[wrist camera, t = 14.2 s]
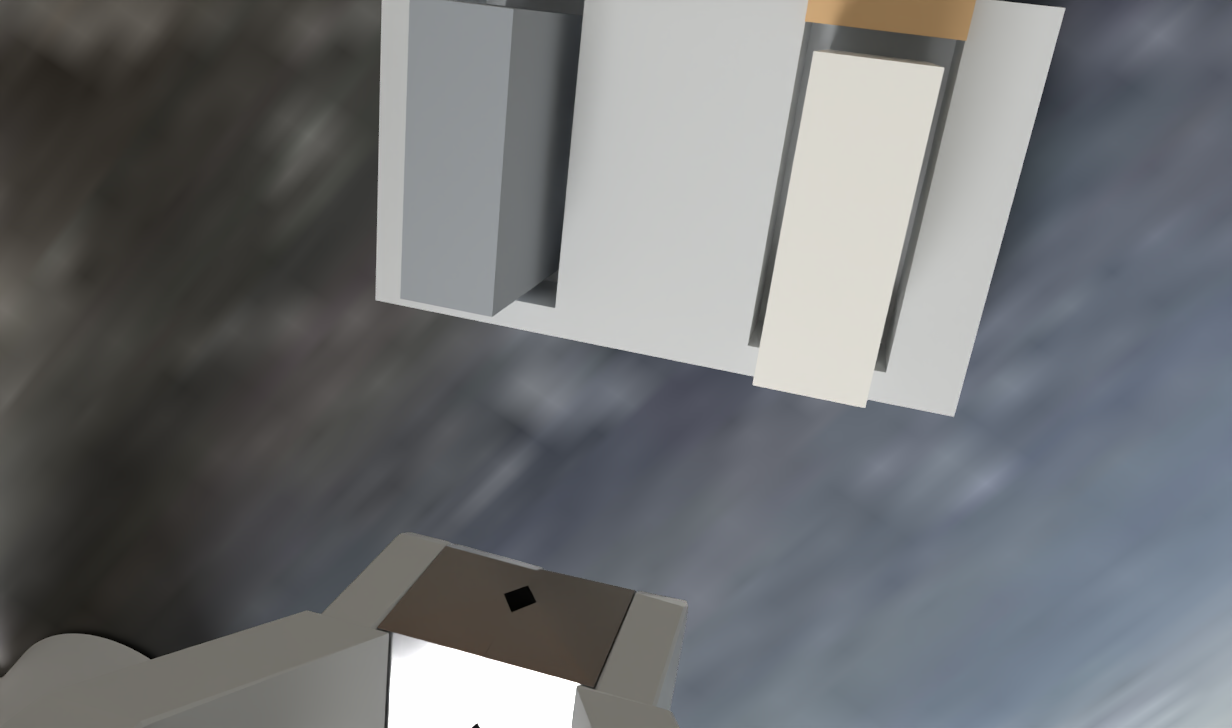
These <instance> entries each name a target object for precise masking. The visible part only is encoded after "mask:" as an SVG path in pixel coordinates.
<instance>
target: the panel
mask: <svg viewBox="0 0 1232 728" xmlns="http://www.w3.org/2000/svg"><path fill="white" fill-rule="evenodd" d="M944 68H945V67H942V66H939V65H936V64H933V63H930V62H927V61H919V60H911V59H903V58H895V57H887V56H879V55H871V54H863V53H855V52H847V51H839V50H831V49H827V50H818V51H814V52H813V57H812V63H811V68H810V74H809V79H808V85H807V90H806V96H805V101H804V107H803V112H802V117H801V123H800V128H799V134H798V139H797V145H796V150H795V156H794V161H793V167H792V172H791V178H790V183H789V188H788V194H787V199H786V205H785V210H784V216H783V221H782V227H781V232H780V238H779V243H778V249H777V254H776V259H775V265H774V270H773V276H772V281H771V287H770V292H769V298H768V303H767V309H766V314H765V320H764V325H763V331H762V336H761V341H760V347H759V352H758V358H757V363H756V369H755V374H754V380H753V385H755V386H759V387H764V388H769V389H774V390H779V391H784V392H789V393H794V394H799V395H804V396H809V397H813V398H818V399H823V400H828V401H833V402H838V403H843V404H848V405H853V406H858V407H863V408H865V407H866V402H867V398H868V394H869V390H870V385H871V381H872V377H873V372H874V368H875V364H876V360H877V355H878V351H879V347H880V342H881V338H882V334H883V330H884V325H885V321H886V317H887V312H888V308H889V304H890V300H891V295H892V291H893V287H894V282H895V278H896V274H897V270H898V265H899V261H900V257H901V253H902V248H903V244H904V240H905V235H906V231H907V227H908V223H909V218H910V214H911V210H912V205H913V201H914V197H915V193H916V188H917V184H918V180H919V175H920V171H921V167H922V163H923V158H924V154H925V150H926V146H927V141H928V137H929V133H930V128H931V124H932V120H933V116H934V111H935V107H936V103H937V98H938V94H939V90H940V86H941V81H942V77H943V73H944Z"/></svg>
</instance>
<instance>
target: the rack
mask: <svg viewBox="0 0 1232 728" xmlns="http://www.w3.org/2000/svg"><path fill="white" fill-rule="evenodd" d="M1064 12H1065V8H1061V7H1051V6H1042V5H1033V4H1024V3H1015V2H1006V1H997V0H382V16H381V64H380V111H379V159H378V207H377V255H376V300H377V301H382V302H387V303H392V304H397V305H402V306H407V307H412V308H417V309H422V310H427V311H432V312H437V313H442V314H447V315H452V316H457V317H462V318H467V319H472V320H477V321H481V322H486V323H491V324H496V325H501V326H506V327H511V328H516V329H521V330H526V331H531V332H536V333H541V334H546V335H551V336H556V337H561V338H566V339H571V340H576V341H581V342H586V343H591V344H595V345H600V346H605V347H610V348H615V349H620V350H625V351H630V352H635V353H640V354H645V355H650V356H655V357H660V358H665V359H670V360H675V361H680V362H685V363H690V364H695V365H700V366H705V367H710V368H714V369H719V370H724V371H729V372H734V373H739V374H744V375H749V376H754V374H755V369H756V363H757V358H758V352H759V347H760V341H761V336H762V331H763V325H764V320H765V314H766V309H767V303H768V298H769V292H770V287H771V281H772V276H773V270H774V265H775V259H776V254H777V249H778V243H779V238H780V232H781V227H782V221H783V216H784V210H785V205H786V199H787V194H788V188H789V183H790V178H791V172H792V167H793V161H794V156H795V150H796V145H797V139H798V134H799V128H800V123H801V117H802V112H803V107H804V101H805V96H806V90H807V85H808V79H809V74H810V68H811V63H812V57H813V52H814V51H818V50H827V49H831V50H839V51H847V52H855V53H863V54H871V55H879V56H887V57H895V58H903V59H911V60H919V61H927V62H930V63H933V64H936V65H939V66H942V67H945V68H944V73H943V77H942V81H941V86H940V90H939V94H938V98H937V103H936V107H935V111H934V116H933V120H932V124H931V128H930V133H929V137H928V141H927V146H926V150H925V154H924V158H923V163H922V167H921V171H920V175H919V180H918V184H917V188H916V193H915V197H914V201H913V205H912V210H911V214H910V218H909V223H908V227H907V231H906V235H905V240H904V244H903V248H902V253H901V257H900V261H899V265H898V270H897V274H896V278H895V282H894V287H893V291H892V295H891V300H890V304H889V308H888V312H887V317H886V321H885V325H884V330H883V334H882V338H881V342H880V347H879V351H878V355H877V360H876V364H875V368H874V372H873V377H872V381H871V385H870V390H869V394H868V398H867V399H868V400H873V401H878V402H883V403H888V404H893V405H898V406H903V407H908V408H913V409H918V410H923V411H928V412H933V413H938V414H943V415H947V416H952V417H954V415H955V411H956V407H957V404H958V400H959V396H960V393H961V389H962V385H963V382H964V378H965V374H966V371H967V367H968V363H969V360H970V356H971V352H972V349H973V345H974V341H975V338H976V334H977V330H978V327H979V323H980V319H981V316H982V312H983V308H984V305H985V301H986V297H987V294H988V290H989V286H990V283H991V279H992V275H993V272H994V268H995V264H996V261H997V257H998V253H999V250H1000V246H1001V242H1002V239H1003V235H1004V231H1005V228H1006V224H1007V220H1008V217H1009V213H1010V209H1011V206H1012V202H1013V198H1014V195H1015V191H1016V187H1017V184H1018V180H1019V176H1020V173H1021V169H1022V166H1023V162H1024V158H1025V155H1026V151H1027V147H1028V144H1029V140H1030V136H1031V133H1032V129H1033V125H1034V122H1035V118H1036V114H1037V111H1038V107H1039V103H1040V100H1041V96H1042V92H1043V89H1044V85H1045V81H1046V78H1047V74H1048V70H1049V67H1050V63H1051V59H1052V56H1053V52H1054V48H1055V45H1056V41H1057V37H1058V34H1059V30H1060V26H1061V23H1062V19H1063V15H1064Z"/></svg>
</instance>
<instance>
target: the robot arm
mask: <svg viewBox="0 0 1232 728" xmlns="http://www.w3.org/2000/svg"><path fill="white" fill-rule="evenodd" d="M687 613H688V606H687V602H686V601H685V600H680V599H675V598H670V597H666V596H661V595H656V594H652V593H647V592H642V591H638V592H636V591H635V590H631V589H626V588H622V587H618V586H613V585H609V584H605V583H600V582H596V581H591V580H587V579H583V578H578V577H574V576H570V575H565V574H561V573H556V572H552V571H548V570H544V568H542V567H538V566H535V565H531V564H527V563H524V562H520V561H516V560H513V559H509V558H506V557H502V556H498V555H495V554H491V553H487V552H484V551H480V550H476V549H473V548H469V547H466V546H462V545H458V544H451V543H450V542H448V541H444V540H440V539H436V538H432V537H428V536H424V535H420V534H415V533H411V532H408V533H402V534H400V535H398V536H397V537H396V538H395V539H394V540H393V541H392V542H391V543H390V544H389V545H388V546H387V547H386V548H385V549H384V550H383V551H382V552H381V553H380V554H379V555H378V556H377V557H376V558H375V559H374V560H373V561H372V562H371V563H370V564H369V566H368V567H367V568H366V569H365V570H364V571H363V572H362V573H361V574H360V575H359V576H358V577H357V578H356V579H355V580H354V581H353V582H352V583H351V584H350V585H349V586H348V587H347V588H346V589H345V590H344V591H343V592H342V593H341V594H340V595H339V596H338V597H337V598H336V599H335V600H334V601H333V602H332V603H331V604H330V605H329V606H328V607H327V608H326V610H325V611H324V612H323V613H322V614H318V613H315V612H311V611H304V612H301V613H297V614H294V615H291V616H288V617H285V618H282V619H278V620H275V621H272V622H269V623H266V624H262V625H259V626H256V627H253V628H250V629H247V630H243V631H240V632H237V633H234V634H231V635H227V636H224V637H221V638H218V639H215V640H212V641H208V642H205V643H202V644H199V645H196V646H192V647H189V648H186V649H183V650H180V651H177V652H173V653H170V654H167V655H164V656H161V657H157V658H154V659H149V658H147V657H146V656H144V655H142V654H141V653H139V652H137V651H135V650H133V649H131V648H129V647H127V646H125V645H122V644H120V643H117V642H115V641H112V640H109V639H106V638H102V637H98V636H93V635H87V634H75V633H73V634H60V635H55V636H51V637H48V638H45V639H43V640H41V641H39V642H37V643H35V644H34V645H33V646H31V647H30V648H29V649H28V650H27V651H26V652H25V653H24V654H23V655H22V656H21V657H20V659H19V660H18V661H17V662H16V663H15V664H14V666H13V667H12V668H11V669H10V670H9V671H8V672H7V673H6V674H5V675H4V676H3V677H1V678H0V728H680V727H679V725H678V723H677V721H676V719H675V717H674V715H673V713H672V712H671V711H670V707H671V703H672V697H673V692H674V686H675V681H676V675H677V670H678V665H679V659H680V654H681V648H682V643H683V637H684V632H685V627H686V621H687Z"/></svg>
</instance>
